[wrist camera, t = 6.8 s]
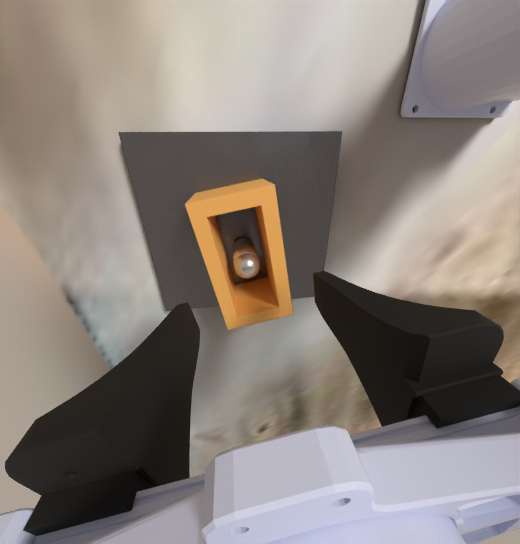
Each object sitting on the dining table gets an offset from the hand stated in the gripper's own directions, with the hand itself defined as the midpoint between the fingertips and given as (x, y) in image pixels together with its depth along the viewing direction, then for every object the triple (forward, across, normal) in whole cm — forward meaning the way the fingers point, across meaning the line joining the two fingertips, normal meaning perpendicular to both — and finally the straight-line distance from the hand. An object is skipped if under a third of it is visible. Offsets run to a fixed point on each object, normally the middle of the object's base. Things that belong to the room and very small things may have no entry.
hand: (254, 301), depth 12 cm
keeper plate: (+9, 0, -2) cm, 10 cm away
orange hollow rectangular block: (+8, 0, 0) cm, 8 cm away
